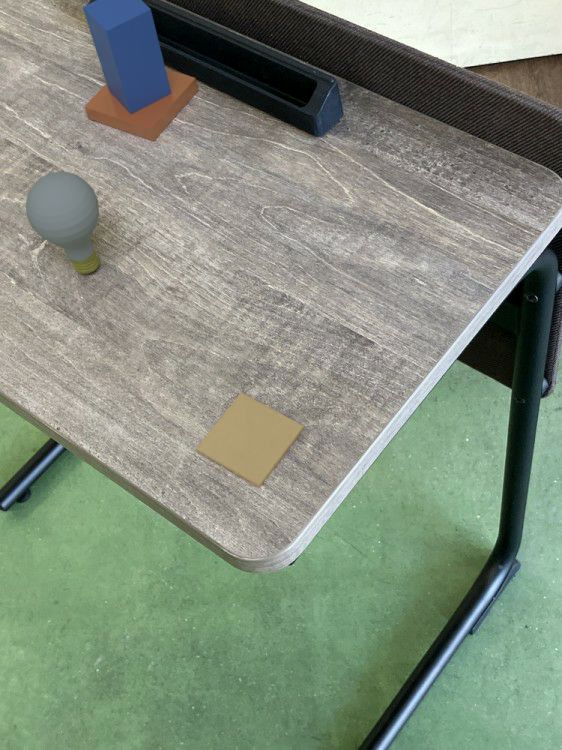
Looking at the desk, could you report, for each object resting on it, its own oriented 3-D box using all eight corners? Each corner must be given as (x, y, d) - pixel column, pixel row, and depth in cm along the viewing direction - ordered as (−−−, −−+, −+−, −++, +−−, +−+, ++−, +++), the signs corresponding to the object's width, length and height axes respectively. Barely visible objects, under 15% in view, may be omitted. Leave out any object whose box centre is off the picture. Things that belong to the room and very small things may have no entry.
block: (148, 70, 91) (126, -15, 83) (171, 93, 88) (150, 8, 81) (108, 90, 90) (82, 6, 82) (131, 114, 87) (106, 30, 80)
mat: (242, 394, 71) (241, 392, 70) (304, 428, 69) (303, 425, 68) (196, 451, 68) (195, 448, 68) (259, 488, 66) (258, 485, 66)
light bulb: (48, 259, 80) (8, 172, 72) (109, 235, 81) (76, 147, 73) (66, 304, 77) (26, 219, 69) (129, 279, 78) (96, 192, 70)
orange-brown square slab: (134, 70, 93) (130, 57, 92) (198, 90, 91) (195, 77, 89) (88, 118, 90) (83, 106, 89) (153, 141, 87) (150, 128, 86)
